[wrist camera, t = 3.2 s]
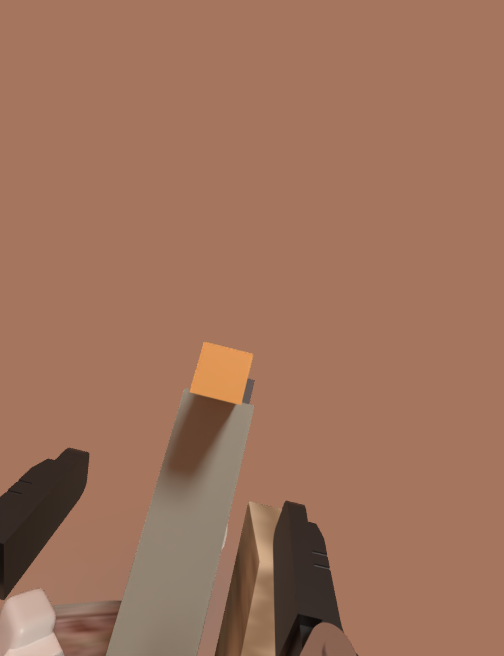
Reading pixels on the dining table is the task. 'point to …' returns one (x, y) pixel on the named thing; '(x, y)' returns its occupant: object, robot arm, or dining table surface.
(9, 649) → the power adapter
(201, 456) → the case
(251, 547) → the birch block
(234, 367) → the orange block
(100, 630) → the dining table surface
